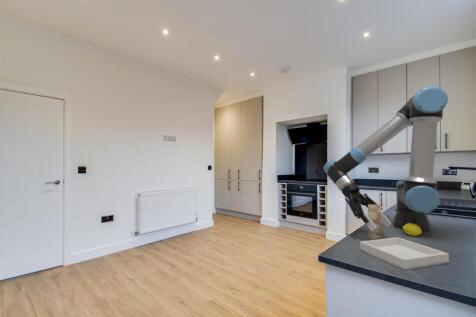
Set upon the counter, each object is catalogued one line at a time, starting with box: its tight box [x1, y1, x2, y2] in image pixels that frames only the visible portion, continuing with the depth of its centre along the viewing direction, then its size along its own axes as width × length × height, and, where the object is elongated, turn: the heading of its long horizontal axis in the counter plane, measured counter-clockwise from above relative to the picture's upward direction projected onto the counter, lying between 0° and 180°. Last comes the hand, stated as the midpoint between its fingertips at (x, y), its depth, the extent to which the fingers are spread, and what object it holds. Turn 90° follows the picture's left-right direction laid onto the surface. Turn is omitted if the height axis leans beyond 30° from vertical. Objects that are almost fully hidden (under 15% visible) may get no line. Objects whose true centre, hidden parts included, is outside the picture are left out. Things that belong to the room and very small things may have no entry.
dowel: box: [367, 203, 383, 240], centre depth 104 cm, size 5×5×14 cm
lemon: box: [402, 223, 423, 237], centre depth 107 cm, size 7×5×5 cm
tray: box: [359, 236, 450, 271], centre depth 84 cm, size 18×18×3 cm
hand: (382, 227), depth 102 cm, fingers open, 10 cm apart
